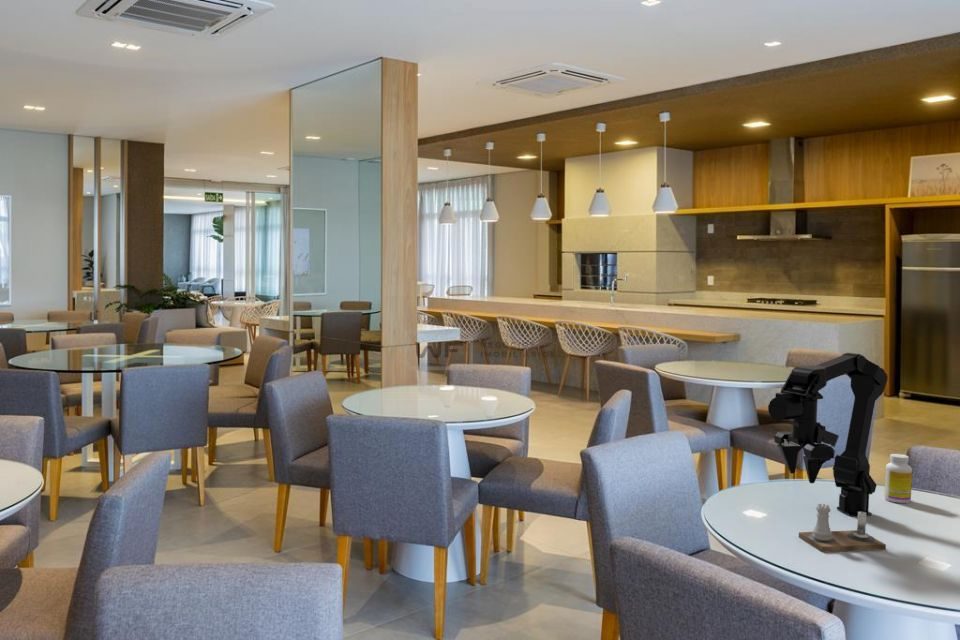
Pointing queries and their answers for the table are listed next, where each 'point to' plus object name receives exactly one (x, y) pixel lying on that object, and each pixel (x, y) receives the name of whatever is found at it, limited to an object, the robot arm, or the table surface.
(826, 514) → the rook chess piece
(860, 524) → the point post
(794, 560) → the table surface
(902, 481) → the supplement bottle
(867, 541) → the board
